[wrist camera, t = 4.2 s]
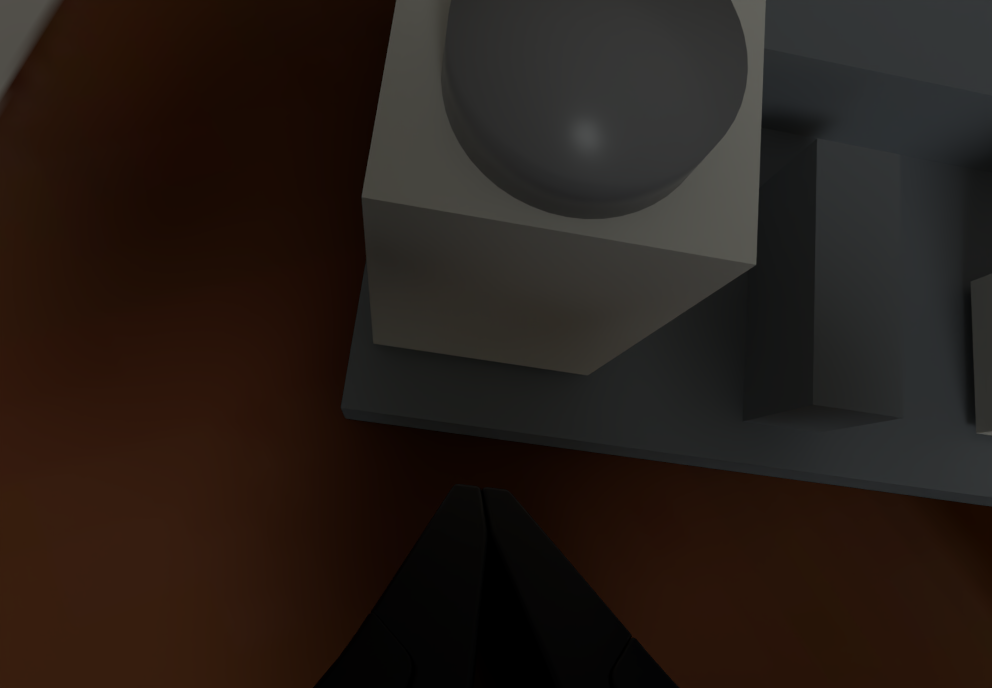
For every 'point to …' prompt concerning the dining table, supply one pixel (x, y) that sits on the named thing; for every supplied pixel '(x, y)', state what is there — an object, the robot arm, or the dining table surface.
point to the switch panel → (792, 285)
